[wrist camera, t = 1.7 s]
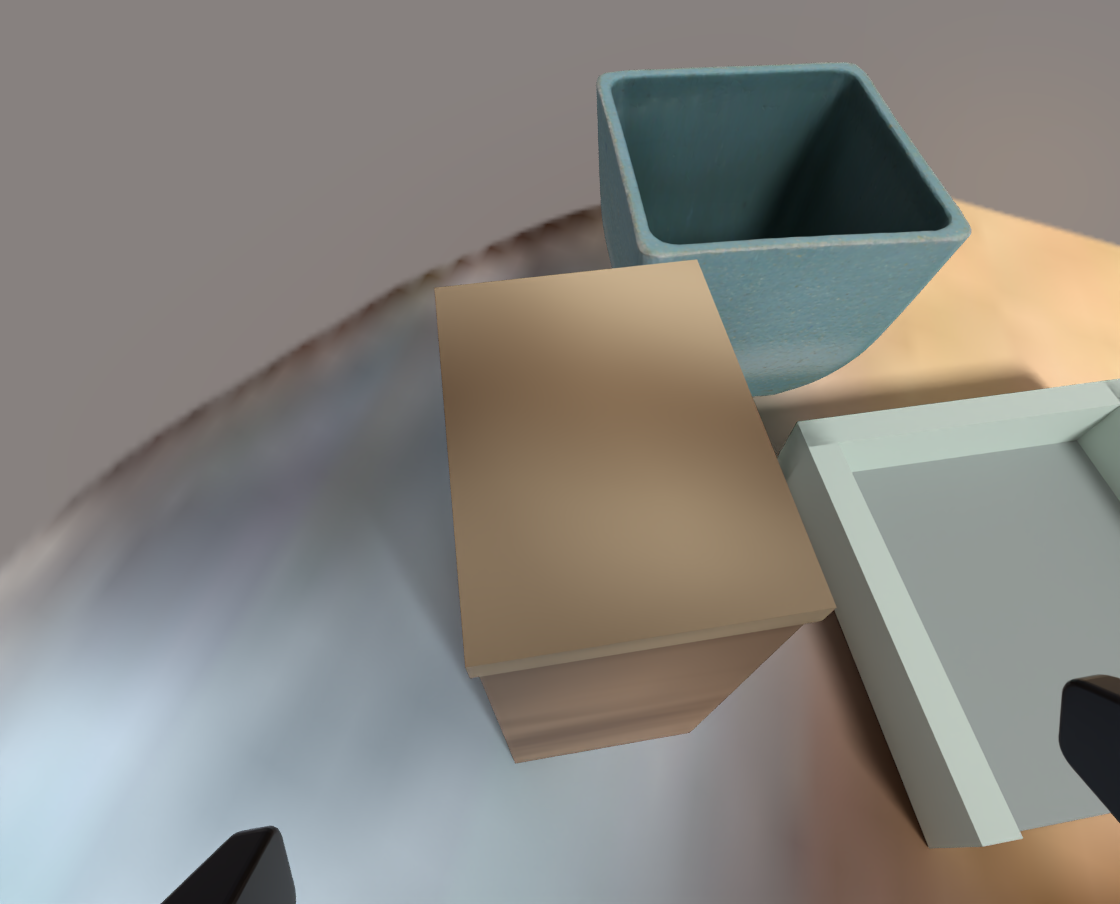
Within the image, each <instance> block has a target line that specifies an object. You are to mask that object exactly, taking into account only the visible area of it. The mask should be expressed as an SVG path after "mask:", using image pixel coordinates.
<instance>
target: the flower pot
mask: <svg viewBox="0 0 1120 904" xmlns="http://www.w3.org/2000/svg"><path fill="white" fill-rule="evenodd" d="M596 86H597V116H598V144H599V175H600V195H601V211H602V220H603V228H604V233H605V239H606V244H607V248H608V253H609V257H610V261H611V265H612V269H613V268H622V267H631V266H641V265H650V264H659V263H668V262H678V261H687V260H696V259H697V260H698V263H699V265H700V268H701V270H702V273H703V275H704V278H705V280H706V283H707V285H708V288H709V290H710V293H711V295H712V298H713V300H714V303H715V305H716V308H717V310H718V313H719V315H720V318H721V320H722V323H723V325H724V328H725V330H726V333H727V335H728V338H729V340H730V343H731V345H732V348H733V350H734V353H735V355H736V358H737V360H738V363H739V365H740V368H741V370H742V373H743V375H744V378H745V380H746V383H747V385H748V388H749V390H750V393H751V395H752V396H766V395H775V394H778V393H781V392H785V391H788V390H792V389H795V388H798V387H801V386H804V385H807V384H809V383H812V382H814V381H817V380H819V379H821V378H823V377H825V376H827V375H829V374H831V373H833V372H834V371H836V370H838V369H840V368H841V367H843V366H845V365H846V364H847V363H849V362H850V361H852V360H853V359H855V358H856V357H857V356H859V355H860V354H861V353H862V352H864V351H865V350H866V349H867V348H868V347H869V346H870V345H871V344H872V343H873V342H875V341H876V340H877V339H878V338H879V337H880V335H881V334H882V333H883V332H884V331H885V330H886V329H887V328H888V327H889V326H890V325H891V324H892V322H893V321H894V320H895V319H896V318H897V317H898V316H899V315H900V314H901V313H902V312H903V311H904V309H905V308H906V307H907V306H908V305H909V304H910V303H911V302H912V301H913V299H914V298H915V297H916V296H917V295H918V294H919V293H920V291H921V290H922V289H923V288H924V287H925V286H926V285H927V284H928V282H929V281H930V280H931V279H932V278H933V277H934V276H935V274H936V273H937V272H938V271H939V270H940V269H941V268H942V266H943V265H944V264H945V263H946V262H947V261H948V260H949V258H950V257H951V256H952V255H953V254H954V253H955V252H956V250H957V249H958V248H959V247H960V246H961V245H962V244H963V243H964V241H965V240H966V239H967V238H968V237H969V236H970V234H971V227H970V225H969V223H968V222H967V220H966V219H965V217H964V215H963V214H962V212H961V210H960V209H959V207H958V206H957V205H956V203H955V202H954V201H953V199H952V197H951V196H950V195H949V194H948V192H947V190H946V189H945V188H944V187H943V184H942V183H941V182H940V180H939V179H938V178H937V177H936V175H935V173H933V171H932V170H931V168H930V167H929V166H928V164H927V162H926V161H925V159H924V158H923V157H922V155H921V154H920V153H919V151H918V149H917V148H916V147H915V145H914V144H913V142H912V140H911V139H910V138H909V136H908V135H907V134H906V133H905V132H904V130H903V129H902V127H901V126H900V124H899V123H898V121H897V120H896V119H895V117H894V116H893V114H892V113H891V110H890V109H889V107H888V106H887V105H886V103H885V102H884V101H883V99H882V97H881V95H880V94H879V93H878V91H877V89H876V88H875V86H874V84H873V83H872V81H871V80H870V78H869V77H868V75H867V74H866V73H865V72H864V71H863V70H861V69H860V68H859V67H858V66H857V65H855V64H853V63H847V62H844V63H830V62H827V63H807V64H786V65H757V66H728V67H702V68H675V69H656V70H655V69H652V70H651V69H649V70H648V69H647V70H646V69H645V70H627V71H618V72H610V73H604V74H602V75H600V76H599V77H598V80H597V83H596Z"/></svg>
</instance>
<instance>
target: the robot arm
mask: <svg viewBox="0 0 1120 904" xmlns="http://www.w3.org/2000/svg"><path fill="white" fill-rule="evenodd" d="M1058 741H1059V746H1060V749H1061V752H1062V754H1063V756H1064V758H1065V759H1066V761H1067V762H1068V764H1069V765H1070V766H1071V767H1072V768H1073V770H1074V771H1075V772H1076V773H1077V774H1078V775H1079V777H1080V778H1081V779H1082V780H1083V781H1084V782H1085V784H1086V785H1087V786H1088V787H1089V788H1090V789H1091V790H1092V792H1093V793H1094V794H1095V795H1096V796H1097V797H1098V799H1099V800H1100V801H1101V802H1102V803H1103V804H1104V805H1105V807H1106V808H1107V809H1108V810H1109V811H1110V812H1111V814H1112V815H1113V816H1114V817H1115V818H1116V819H1117V821H1118V822H1119V823H1120V678H1117V677H1114V676H1110V675H1103V674H1097V675H1091V676H1086V677H1080V678H1075V679H1071V680H1069V681H1068V682H1066V684H1065V685H1064V687H1063V689H1062V696H1061V709H1060V722H1059V735H1058ZM161 904H296V893H295V886H294V882H293V878H292V874H291V870H290V866H289V862H288V858H287V854H286V850H285V846H284V842H283V838H282V835H281V833H280V831H279V830H278V828H276V827H274V826H266V827H260V828H255V829H249V830H244V831H240V832H237V833H235V834H233V835H232V836H231V837H230V838H229V839H227V840H226V841H225V842H224V843H223V844H222V845H221V846H220V847H219V848H218V849H217V850H216V851H215V852H214V853H213V854H212V855H211V856H210V857H209V858H208V859H207V860H206V861H205V862H204V863H203V864H201V865H200V866H199V867H198V868H197V869H196V870H195V871H194V872H193V873H192V874H191V875H190V876H189V877H188V878H187V879H186V880H185V881H184V882H183V883H182V884H181V885H180V886H179V887H178V888H177V889H176V890H174V891H173V892H172V893H171V894H170V895H169V896H168V897H167V898H166V899H165V900H164V901H163V902H162V903H161Z"/></svg>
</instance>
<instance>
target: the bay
mask: <svg viewBox="0 0 1120 904" xmlns="http://www.w3.org/2000/svg"><path fill="white" fill-rule="evenodd" d="M777 460H778V462H779V465H780V467H781V470H782V472H783V475H784V477H785V480H786V482H787V485H788V487H789V490H790V492H791V495H792V497H793V500H794V502H795V505H796V507H797V510H798V512H799V515H800V517H801V520H802V522H803V525H804V527H805V530H806V532H807V535H808V537H809V540H810V542H811V544H812V547H813V549H814V552H815V554H816V557H817V559H818V562H819V564H820V567H821V569H822V572H823V574H824V577H825V579H826V582H827V584H828V587H829V589H830V592H831V594H832V597H833V599H834V602H835V604H836V607H837V608H836V609H835V610H834V611H835V613H836V616H837V618H838V621H839V623H840V626H841V628H842V631H843V633H844V636H845V638H846V641H847V643H848V646H849V648H850V651H851V653H852V656H853V658H854V661H855V663H856V666H857V668H858V671H859V673H860V676H861V678H862V681H863V684H864V686H865V689H866V691H867V694H868V696H869V699H870V701H871V704H872V706H873V709H874V711H875V714H876V716H877V719H878V721H879V724H880V726H881V729H882V731H883V734H884V736H885V739H886V741H887V744H888V746H889V749H890V751H891V754H892V756H893V759H894V761H895V764H896V766H897V769H898V771H899V774H900V776H901V779H902V781H903V784H904V786H905V789H906V791H907V794H908V796H909V799H910V801H911V804H912V807H913V809H914V812H915V814H916V817H917V819H918V822H919V824H920V827H921V829H922V832H923V834H924V837H925V839H926V842H927V844H928V847H929V848H955V847H983V846H988V845H993V844H998V843H1003V842H1008V841H1013V840H1018V839H1023V837H1022V835H1021V833H1020V831H1023V830H1028V829H1033V828H1038V827H1043V826H1048V825H1053V824H1058V823H1063V822H1068V821H1073V820H1078V819H1083V818H1088V817H1093V816H1098V815H1103V814H1108V813H1111V812H1110V811H1109V810H1108V809H1107V808H1106V807H1105V805H1104V804H1103V803H1102V802H1101V801H1100V800H1099V799H1098V797H1097V796H1096V795H1095V794H1094V793H1093V792H1092V790H1091V789H1090V788H1089V787H1088V786H1087V785H1086V784H1085V782H1084V781H1083V780H1082V779H1081V778H1080V777H1079V775H1078V774H1077V773H1076V772H1075V771H1074V770H1073V768H1072V767H1071V766H1070V765H1069V764H1068V762H1067V761H1066V759H1065V758H1064V756H1063V754H1062V752H1061V749H1060V746H1059V741H1058V735H1059V722H1060V709H1061V696H1062V689H1063V687H1064V685H1065V684H1066V682H1068V681H1069V680H1071V679H1075V678H1080V677H1086V676H1091V675H1097V674H1103V675H1110V676H1114V677H1117V678H1120V379H1114V380H1106V381H1099V382H1091V383H1084V384H1076V385H1069V386H1061V387H1054V388H1046V389H1039V390H1031V391H1024V392H1016V393H1009V394H1001V395H994V396H986V397H979V398H971V399H964V400H956V401H949V402H941V403H934V404H926V405H919V406H911V407H904V408H896V409H889V410H881V411H874V412H866V413H859V414H851V415H844V416H836V417H829V418H821V419H813V420H806V421H798V422H797V423H796V425H795V427H794V428H793V430H792V432H791V434H790V436H789V437H788V439H787V441H786V443H785V445H784V446H783V448H782V450H781V452H780V454H779V456H778V457H777Z"/></svg>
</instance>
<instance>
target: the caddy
mask: <svg viewBox="0 0 1120 904" xmlns="http://www.w3.org/2000/svg"><path fill="white" fill-rule="evenodd" d="M434 289H435V302H436V314H437V326H438V339H439V351H440V363H441V375H442V388H443V400H444V412H445V425H446V437H447V449H448V462H449V474H450V486H451V499H452V511H453V523H454V536H455V548H456V560H457V572H458V585H459V597H460V609H461V622H462V634H463V646H464V659H465V668H466V670H467V672H468V675H469V677H470V678H476V677H480V679H481V682H482V684H483V686H484V689H485V691H486V694H487V696H488V699H489V701H490V703H491V706H492V708H493V711H494V713H495V715H496V718H497V720H498V723H499V725H500V728H501V730H502V732H503V735H504V737H505V740H506V742H507V744H508V747H509V749H510V752H511V754H512V757H513V759H514V761H515V763H520V762H526V761H532V760H537V759H543V758H549V757H554V756H560V755H566V754H571V753H577V752H583V751H588V750H594V749H600V748H605V747H611V746H617V745H622V744H628V743H634V742H639V741H645V740H651V739H656V738H662V737H668V736H673V735H679V734H685V733H690V732H691V731H692V730H693V729H694V728H695V727H696V726H697V725H698V724H699V723H700V722H701V721H702V720H704V719H705V718H706V717H707V716H708V715H709V714H710V713H711V712H712V711H713V710H714V709H715V708H716V707H717V706H718V705H719V704H720V703H721V702H722V701H724V700H725V699H726V698H727V697H728V696H729V695H730V694H731V693H732V692H733V691H734V690H735V689H736V688H737V687H738V686H739V685H740V684H741V683H742V682H743V681H745V680H746V679H747V678H748V677H749V676H750V675H751V674H752V673H753V672H754V671H755V670H756V669H757V668H758V667H759V666H760V665H761V664H762V663H763V662H765V661H766V660H767V659H768V658H769V657H770V656H771V655H772V654H773V653H774V652H775V651H776V650H777V649H778V648H779V647H780V646H781V645H782V644H783V643H784V642H786V641H787V640H788V639H789V638H790V637H791V636H792V635H793V634H794V633H795V632H796V631H797V630H798V629H799V628H800V627H801V626H802V625H803V624H806V623H812V622H819V621H822V620H823V619H825V618H826V617H827V616H828V615H829V614H830V613H831V612H832V611H833V610H835V609H836V608H837V607H836V604H835V602H834V599H833V597H832V594H831V592H830V589H829V587H828V584H827V582H826V579H825V577H824V574H823V572H822V569H821V567H820V564H819V562H818V559H817V557H816V554H815V552H814V549H813V547H812V544H811V542H810V540H809V537H808V535H807V532H806V530H805V527H804V525H803V522H802V520H801V517H800V515H799V512H798V510H797V507H796V505H795V502H794V500H793V497H792V495H791V492H790V490H789V487H788V485H787V482H786V480H785V477H784V475H783V472H782V470H781V467H780V465H779V462H778V460H777V457H776V455H775V452H774V450H773V447H772V445H771V442H770V440H769V437H768V435H767V432H766V430H765V427H764V425H763V422H762V420H761V417H760V415H759V412H758V410H757V407H756V405H755V402H754V400H753V398H752V395H751V393H750V390H749V388H748V385H747V383H746V380H745V378H744V375H743V373H742V370H741V368H740V365H739V363H738V360H737V358H736V355H735V353H734V350H733V348H732V345H731V343H730V340H729V338H728V335H727V333H726V330H725V328H724V325H723V323H722V320H721V318H720V315H719V313H718V310H717V308H716V305H715V303H714V300H713V298H712V295H711V293H710V290H709V288H708V285H707V283H706V280H705V278H704V275H703V273H702V270H701V268H700V265H699V263H698V260H697V259H696V260H687V261H678V262H668V263H659V264H650V265H641V266H631V267H622V268H613V269H604V270H594V271H585V272H576V273H567V274H557V275H548V276H539V277H530V278H520V279H511V280H502V281H493V282H483V283H474V284H465V285H456V286H447V287H437V288H434Z"/></svg>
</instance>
